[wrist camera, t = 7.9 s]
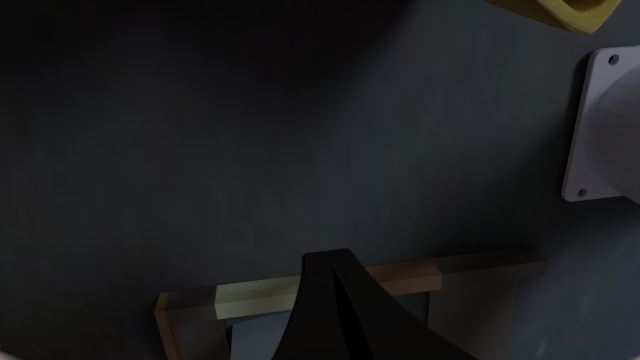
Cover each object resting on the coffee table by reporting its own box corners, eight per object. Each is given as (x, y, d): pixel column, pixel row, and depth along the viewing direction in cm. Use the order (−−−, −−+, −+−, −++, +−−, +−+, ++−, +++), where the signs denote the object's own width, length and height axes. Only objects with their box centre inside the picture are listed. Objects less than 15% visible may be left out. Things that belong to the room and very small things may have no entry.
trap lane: (531, 245, 25) (546, 260, 24) (506, 378, 30) (518, 397, 28) (160, 292, 23) (154, 312, 22) (196, 427, 28) (193, 450, 26)
